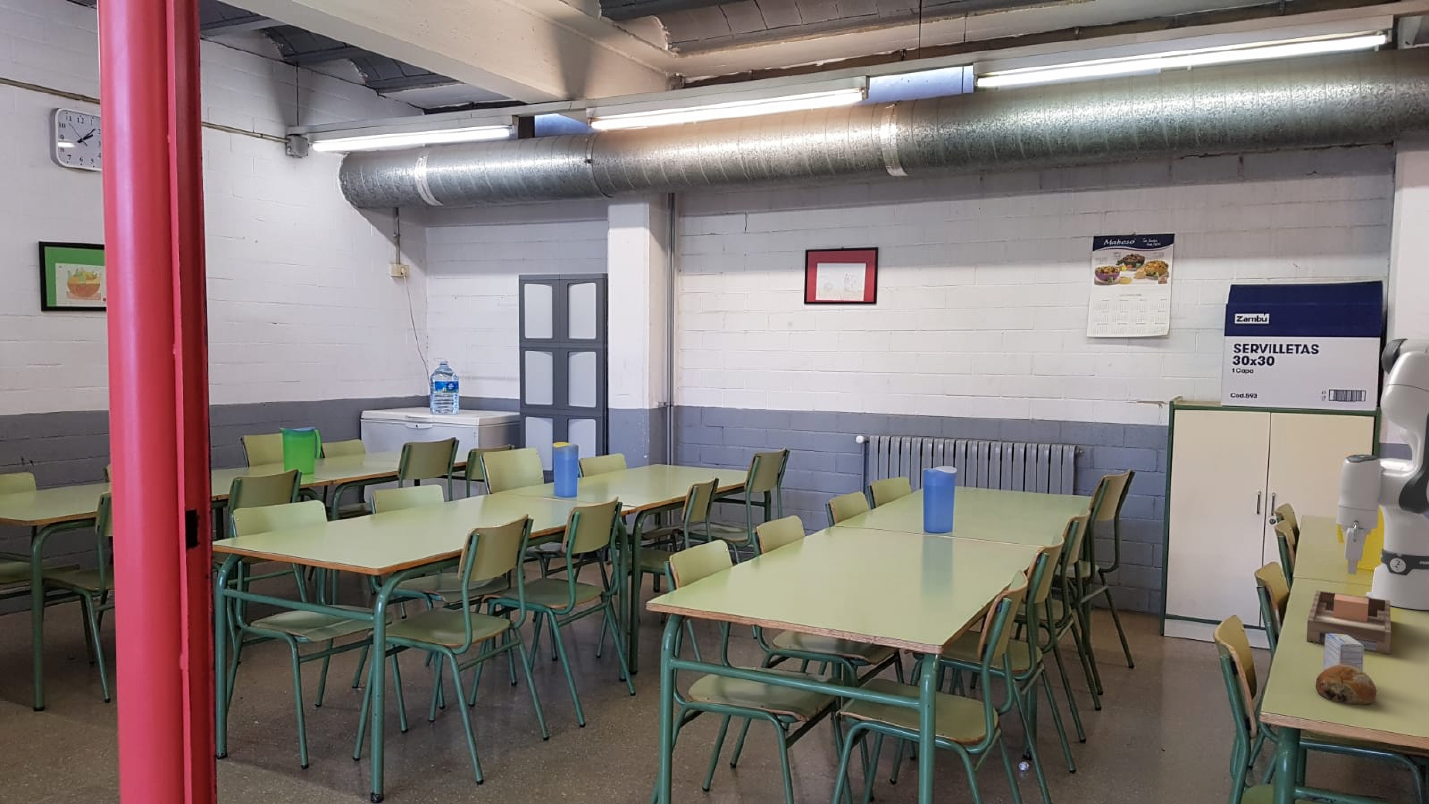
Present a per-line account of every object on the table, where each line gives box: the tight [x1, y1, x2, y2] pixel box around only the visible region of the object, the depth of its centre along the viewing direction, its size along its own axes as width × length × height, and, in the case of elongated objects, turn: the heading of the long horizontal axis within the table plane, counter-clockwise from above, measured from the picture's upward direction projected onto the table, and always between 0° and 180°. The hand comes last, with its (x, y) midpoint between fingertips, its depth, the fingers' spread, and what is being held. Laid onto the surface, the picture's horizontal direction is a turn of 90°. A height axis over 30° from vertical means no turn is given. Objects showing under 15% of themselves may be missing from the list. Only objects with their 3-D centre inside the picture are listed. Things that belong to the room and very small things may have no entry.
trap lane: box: [1306, 590, 1392, 655], centre depth 241 cm, size 36×16×5 cm, turn 146°
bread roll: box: [1315, 664, 1378, 706], centre depth 193 cm, size 10×10×8 cm
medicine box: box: [1322, 634, 1365, 672], centre depth 203 cm, size 8×4×9 cm, turn 168°
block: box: [1333, 593, 1370, 622], centre depth 244 cm, size 7×7×4 cm
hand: (1352, 573), depth 250 cm, fingers closed
